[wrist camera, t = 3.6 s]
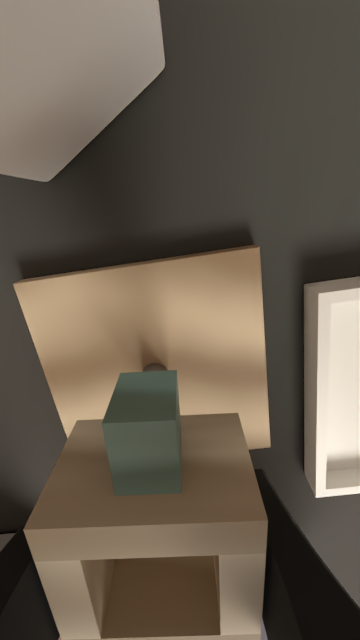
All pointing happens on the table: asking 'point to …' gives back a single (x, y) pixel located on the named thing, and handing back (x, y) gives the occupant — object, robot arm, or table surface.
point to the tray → (332, 386)
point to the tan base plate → (156, 334)
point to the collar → (152, 523)
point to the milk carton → (69, 75)
